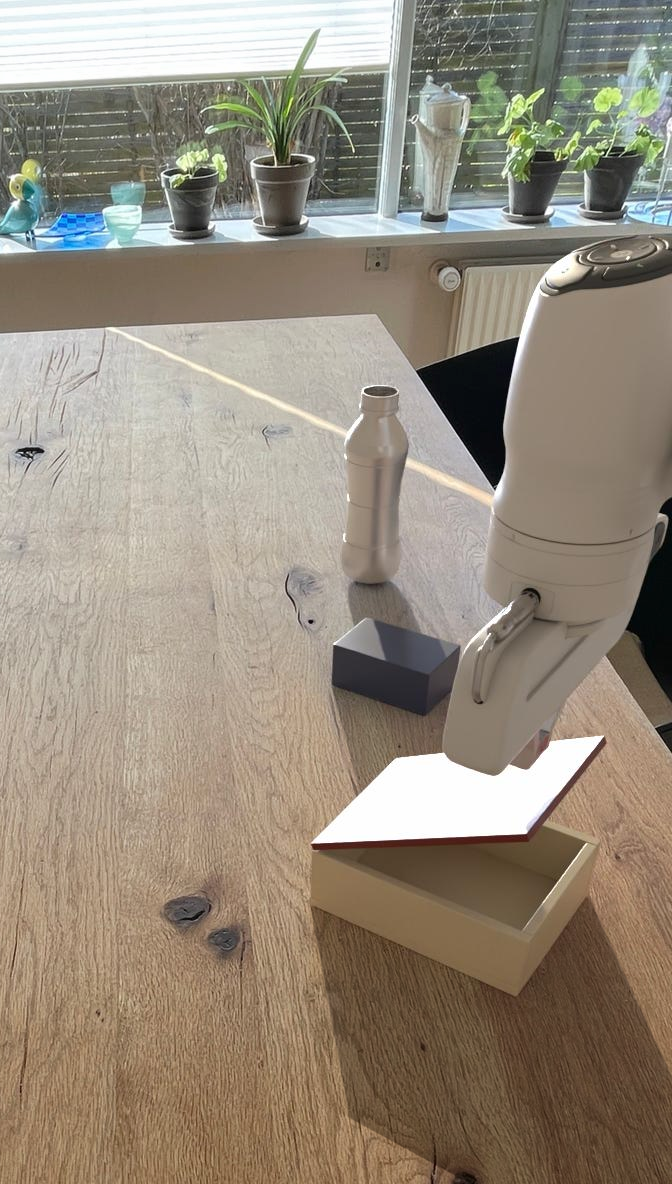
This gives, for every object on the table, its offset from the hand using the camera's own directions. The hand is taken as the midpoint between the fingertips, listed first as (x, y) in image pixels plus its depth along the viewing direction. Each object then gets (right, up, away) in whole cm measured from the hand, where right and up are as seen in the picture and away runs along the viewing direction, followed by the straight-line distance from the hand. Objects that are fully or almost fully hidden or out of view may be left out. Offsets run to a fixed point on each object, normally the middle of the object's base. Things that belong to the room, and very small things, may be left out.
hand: (526, 757), depth 74 cm
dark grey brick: (-3, +10, +34) cm, 36 cm away
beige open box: (-2, -10, +11) cm, 15 cm away
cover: (-3, -2, +6) cm, 7 cm away
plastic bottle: (-2, +24, +51) cm, 57 cm away
